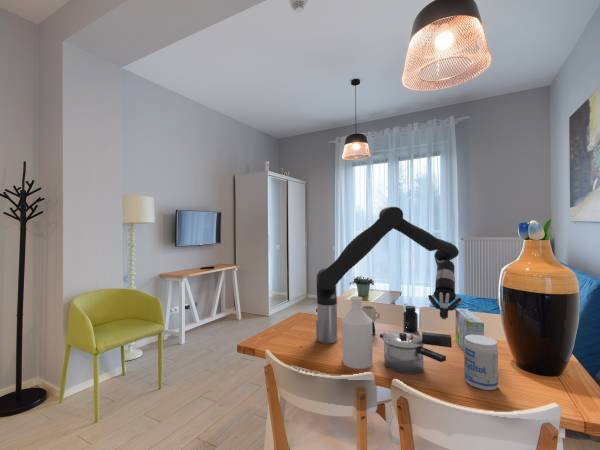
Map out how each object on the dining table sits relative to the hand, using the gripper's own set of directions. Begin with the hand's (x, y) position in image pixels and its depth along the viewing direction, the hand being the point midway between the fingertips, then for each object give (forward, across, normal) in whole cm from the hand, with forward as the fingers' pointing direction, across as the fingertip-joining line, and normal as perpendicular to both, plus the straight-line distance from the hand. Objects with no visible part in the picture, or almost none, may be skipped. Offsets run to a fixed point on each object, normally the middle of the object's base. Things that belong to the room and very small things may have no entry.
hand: (443, 318), depth 115 cm
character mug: (+2, -35, +21) cm, 41 cm away
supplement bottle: (-8, -17, +31) cm, 37 cm away
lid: (+14, -9, -4) cm, 17 cm away
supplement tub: (+22, +12, +1) cm, 25 cm away
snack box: (+2, +8, +22) cm, 23 cm away
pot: (+22, -11, +1) cm, 24 cm away
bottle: (+25, -29, -2) cm, 39 cm away
